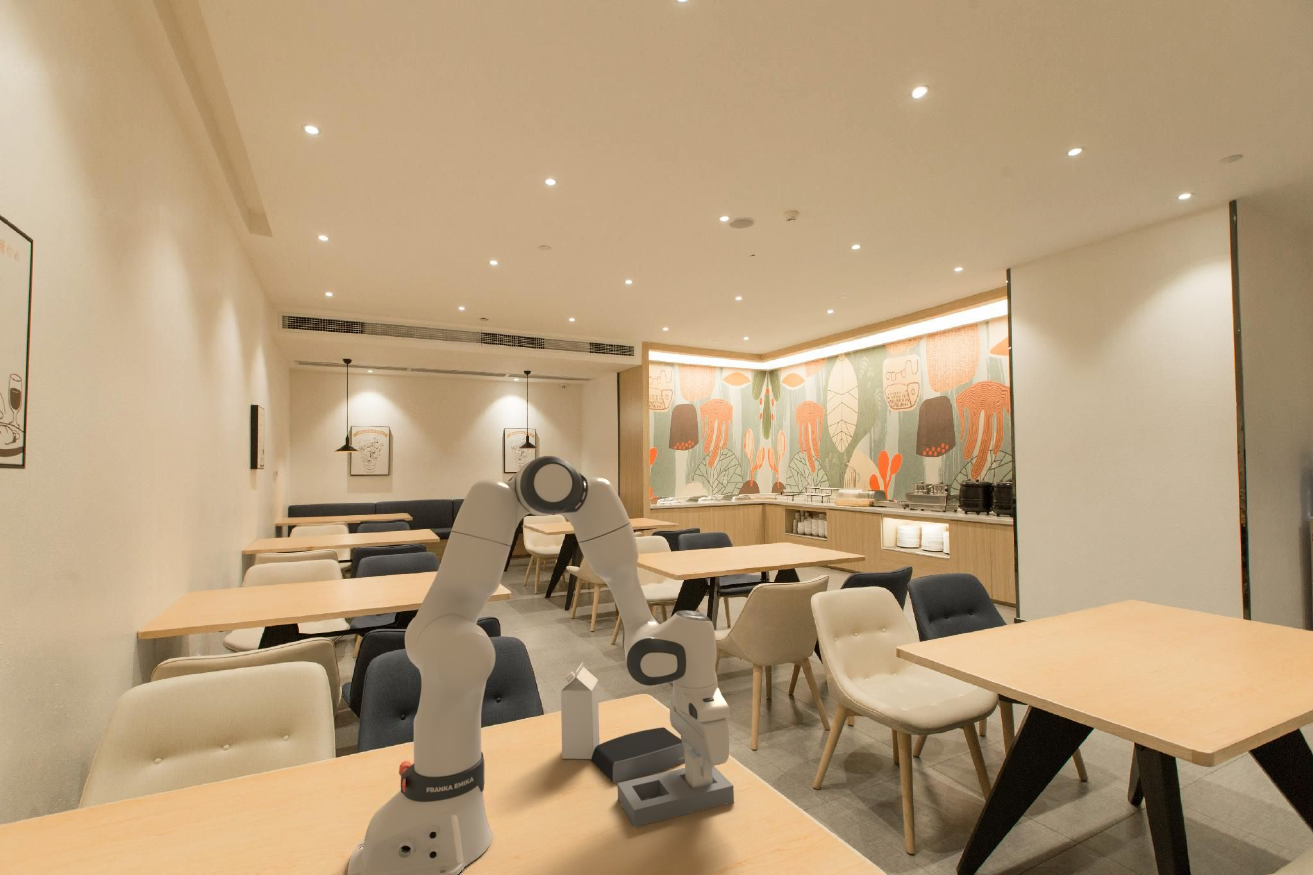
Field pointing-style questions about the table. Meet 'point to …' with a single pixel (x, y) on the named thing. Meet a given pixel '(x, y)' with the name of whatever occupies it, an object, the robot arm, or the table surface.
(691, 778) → the plug
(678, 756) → the external hard drive
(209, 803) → the table surface
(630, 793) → the socket panel
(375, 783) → the table surface
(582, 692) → the milk carton
